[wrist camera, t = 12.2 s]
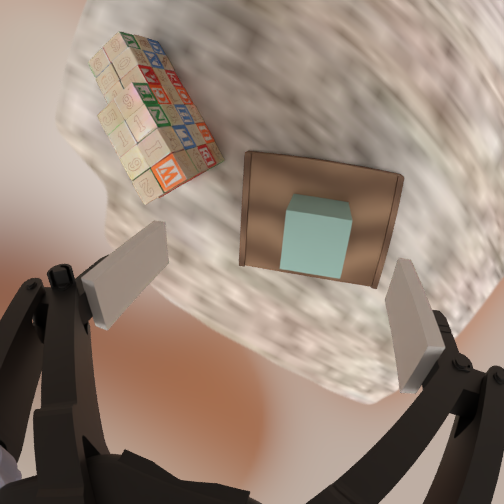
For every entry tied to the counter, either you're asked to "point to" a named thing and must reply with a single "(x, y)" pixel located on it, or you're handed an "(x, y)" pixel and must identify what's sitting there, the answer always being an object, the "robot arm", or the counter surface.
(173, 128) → the stack of blocks
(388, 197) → the board
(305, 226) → the cube
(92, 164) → the counter surface
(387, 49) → the counter surface
